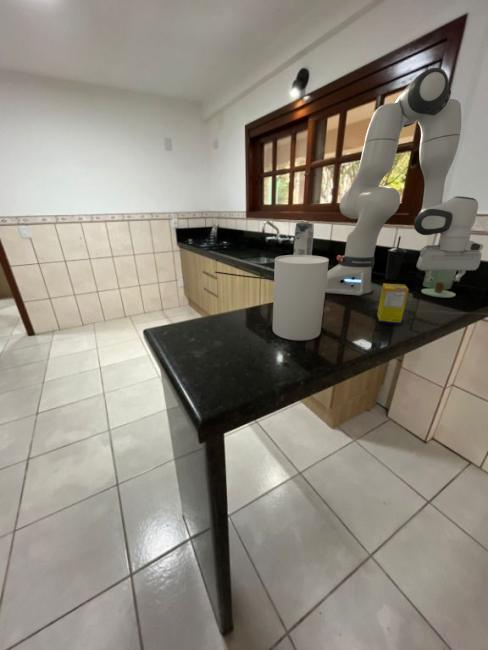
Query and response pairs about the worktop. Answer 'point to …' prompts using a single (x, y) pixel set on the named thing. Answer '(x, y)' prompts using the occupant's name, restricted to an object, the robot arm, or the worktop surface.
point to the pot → (440, 278)
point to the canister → (299, 296)
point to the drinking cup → (394, 262)
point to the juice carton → (303, 238)
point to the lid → (438, 291)
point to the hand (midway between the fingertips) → (442, 281)
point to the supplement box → (392, 303)
